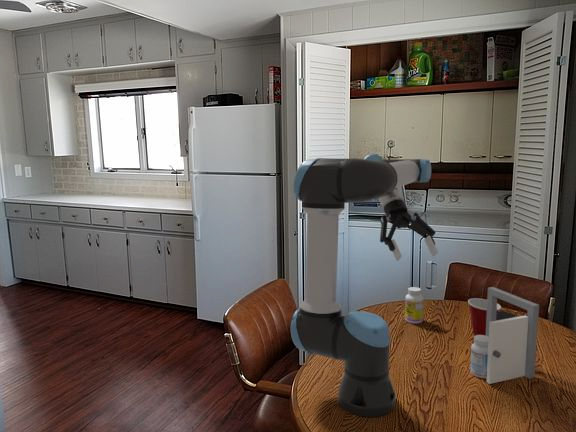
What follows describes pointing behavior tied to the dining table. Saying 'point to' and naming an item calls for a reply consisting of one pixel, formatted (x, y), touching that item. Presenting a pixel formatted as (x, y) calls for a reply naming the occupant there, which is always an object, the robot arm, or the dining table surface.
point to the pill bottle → (479, 356)
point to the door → (507, 349)
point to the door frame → (532, 322)
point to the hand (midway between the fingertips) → (417, 256)
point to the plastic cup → (479, 315)
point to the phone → (504, 315)
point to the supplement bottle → (414, 306)
